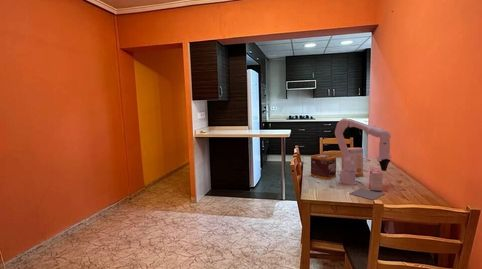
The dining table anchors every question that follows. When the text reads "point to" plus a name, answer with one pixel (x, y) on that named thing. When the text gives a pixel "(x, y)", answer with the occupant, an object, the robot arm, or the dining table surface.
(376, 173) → the supplement box
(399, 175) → the dining table surface
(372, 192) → the mat
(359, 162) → the cracker box
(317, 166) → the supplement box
